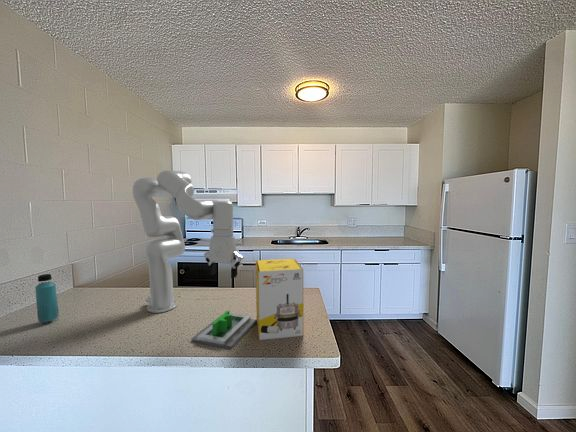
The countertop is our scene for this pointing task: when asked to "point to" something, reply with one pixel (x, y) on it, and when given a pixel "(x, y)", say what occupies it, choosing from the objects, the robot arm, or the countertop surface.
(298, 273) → the packaging box
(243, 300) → the countertop surface
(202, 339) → the groove block
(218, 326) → the pipe clamp
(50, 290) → the beverage bottle
